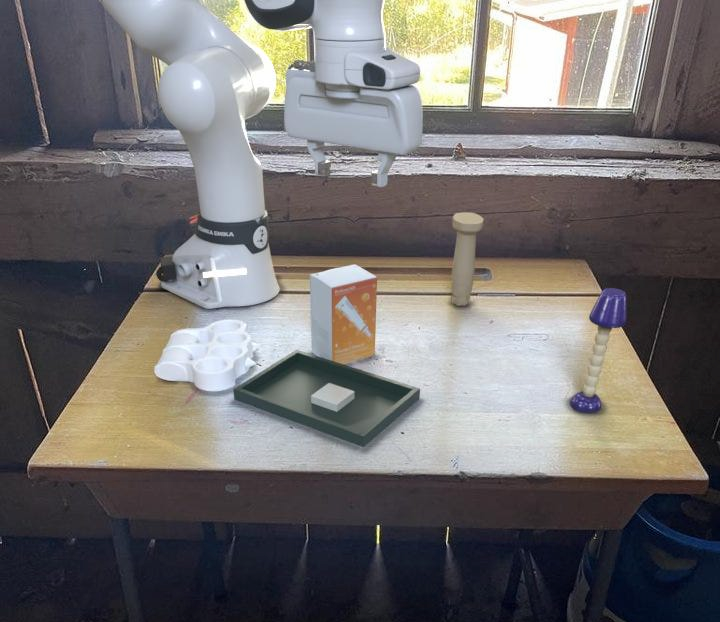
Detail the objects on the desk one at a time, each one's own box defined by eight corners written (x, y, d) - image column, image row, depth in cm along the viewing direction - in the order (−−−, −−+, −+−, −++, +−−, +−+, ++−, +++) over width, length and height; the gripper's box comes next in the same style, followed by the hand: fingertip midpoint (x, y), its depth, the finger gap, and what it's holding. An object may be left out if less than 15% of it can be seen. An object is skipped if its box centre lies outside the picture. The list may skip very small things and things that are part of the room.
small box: (332, 370, 109) (330, 287, 102) (311, 354, 114) (308, 273, 106) (376, 356, 113) (378, 276, 105) (354, 341, 117) (354, 262, 109)
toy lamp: (577, 393, 104) (601, 281, 94) (609, 402, 102) (637, 289, 92) (565, 407, 101) (589, 293, 91) (598, 417, 99) (626, 302, 89)
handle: (450, 310, 127) (457, 224, 118) (443, 296, 132) (450, 212, 123) (477, 310, 128) (486, 223, 119) (469, 295, 133) (478, 212, 124)
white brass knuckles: (177, 337, 118) (267, 338, 118) (150, 393, 104) (253, 394, 103) (174, 318, 116) (265, 319, 116) (146, 372, 102) (251, 373, 101)
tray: (234, 402, 102) (232, 389, 100) (297, 361, 112) (296, 349, 110) (363, 450, 92) (363, 436, 91) (419, 401, 102) (420, 388, 101)
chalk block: (310, 403, 101) (310, 395, 100) (329, 389, 104) (328, 382, 103) (337, 412, 99) (336, 404, 98) (354, 398, 102) (354, 391, 101)
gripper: (270, 61, 93) (277, 174, 102) (404, 74, 84) (400, 197, 92) (300, 56, 98) (305, 164, 106) (432, 68, 88) (425, 186, 96)
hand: (350, 180), depth 99 cm, fingers open, 8 cm apart
